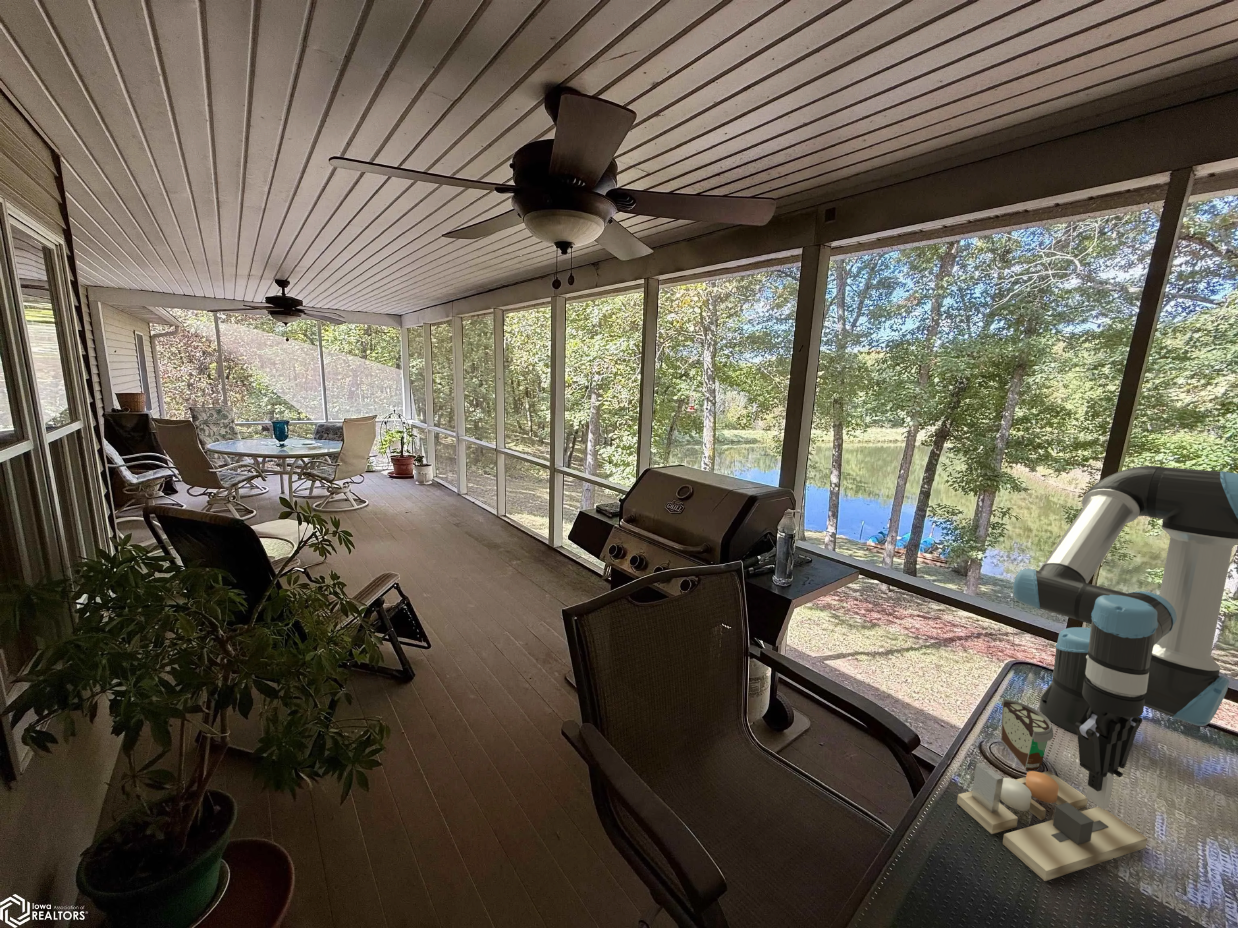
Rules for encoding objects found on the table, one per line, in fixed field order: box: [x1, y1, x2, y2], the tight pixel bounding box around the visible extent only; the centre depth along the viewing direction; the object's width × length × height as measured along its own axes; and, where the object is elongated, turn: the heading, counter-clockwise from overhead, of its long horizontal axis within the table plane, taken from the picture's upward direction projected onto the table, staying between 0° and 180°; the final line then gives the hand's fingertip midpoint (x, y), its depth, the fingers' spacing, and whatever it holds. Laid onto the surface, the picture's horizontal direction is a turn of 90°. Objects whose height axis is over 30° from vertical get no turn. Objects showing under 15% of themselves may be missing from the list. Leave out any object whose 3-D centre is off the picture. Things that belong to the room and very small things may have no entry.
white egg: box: [1000, 777, 1032, 812], centre depth 94 cm, size 5×5×3 cm
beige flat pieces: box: [956, 770, 1148, 882], centre depth 91 cm, size 24×16×2 cm, turn 104°
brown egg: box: [1025, 770, 1059, 804], centre depth 95 cm, size 5×5×3 cm
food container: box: [1000, 698, 1054, 771], centre depth 107 cm, size 12×6×10 cm, turn 168°
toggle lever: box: [971, 762, 1004, 813], centre depth 93 cm, size 2×4×7 cm, turn 14°
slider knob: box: [1053, 803, 1094, 845], centre depth 87 cm, size 3×4×4 cm
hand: (1097, 802), depth 88 cm, fingers closed
